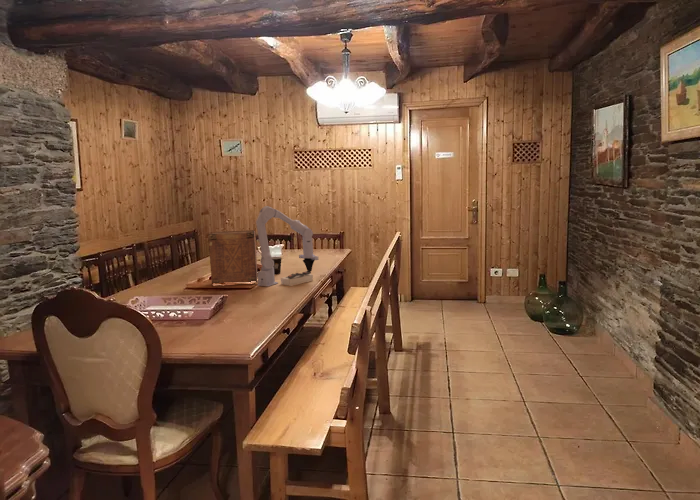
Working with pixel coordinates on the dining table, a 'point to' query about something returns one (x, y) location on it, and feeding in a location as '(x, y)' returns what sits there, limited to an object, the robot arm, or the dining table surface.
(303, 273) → the rocker outer
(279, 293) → the dining table surface
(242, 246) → the carved wooden box
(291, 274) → the rocker inner
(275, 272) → the coffee mug
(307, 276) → the power strip
